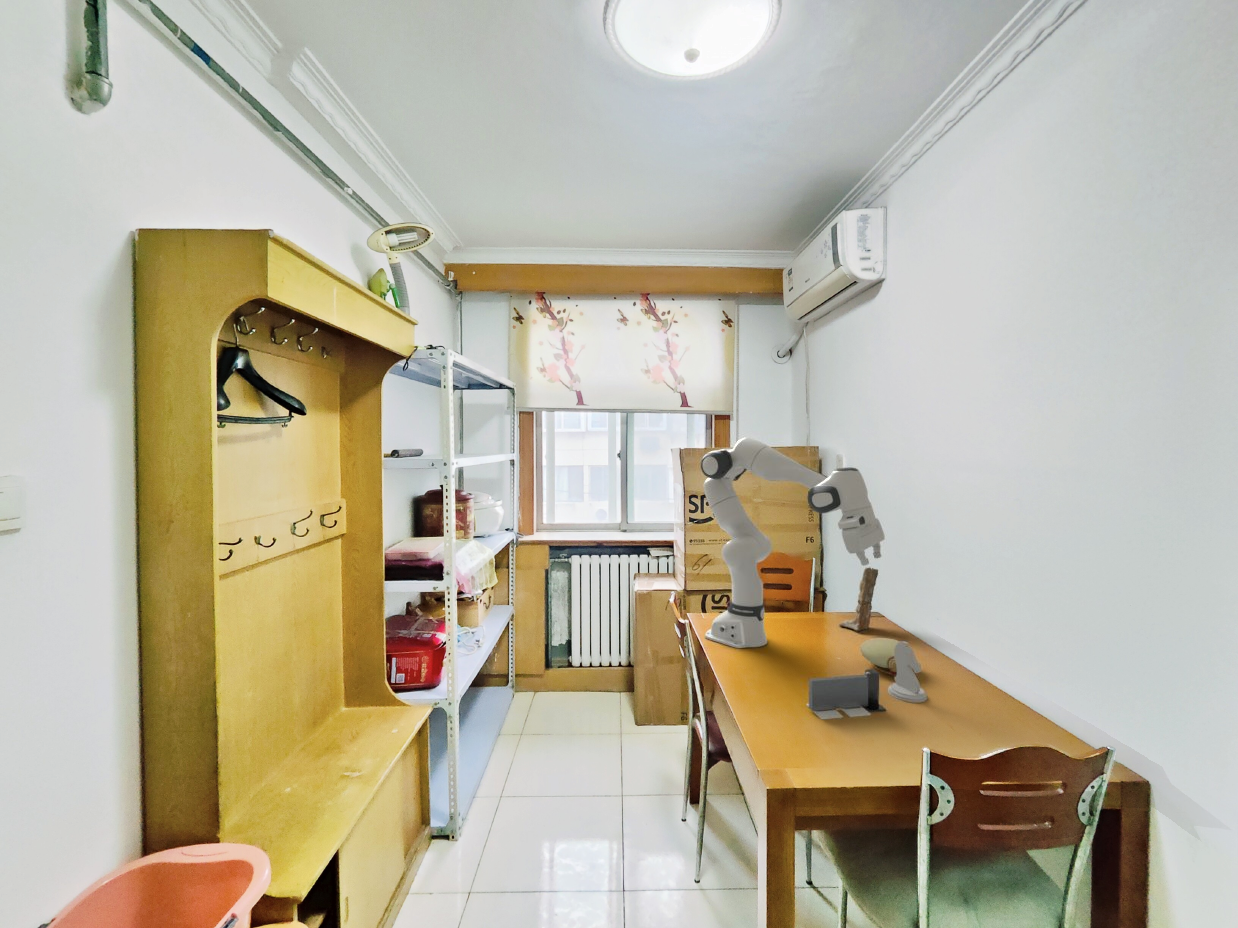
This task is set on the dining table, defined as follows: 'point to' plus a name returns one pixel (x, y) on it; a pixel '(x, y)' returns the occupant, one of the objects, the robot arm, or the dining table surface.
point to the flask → (881, 653)
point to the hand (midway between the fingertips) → (872, 561)
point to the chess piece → (906, 675)
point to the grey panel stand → (844, 691)
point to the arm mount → (874, 709)
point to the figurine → (863, 601)
